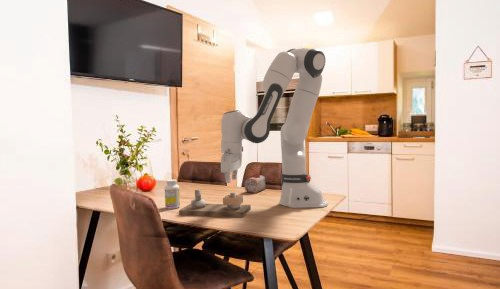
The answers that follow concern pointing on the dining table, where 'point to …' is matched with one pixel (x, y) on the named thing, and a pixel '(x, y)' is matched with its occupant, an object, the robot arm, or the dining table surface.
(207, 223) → the dining table surface
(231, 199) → the tan faceted disc
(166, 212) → the dining table surface
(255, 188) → the food item
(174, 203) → the supplement bottle
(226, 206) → the board
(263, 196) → the dining table surface
